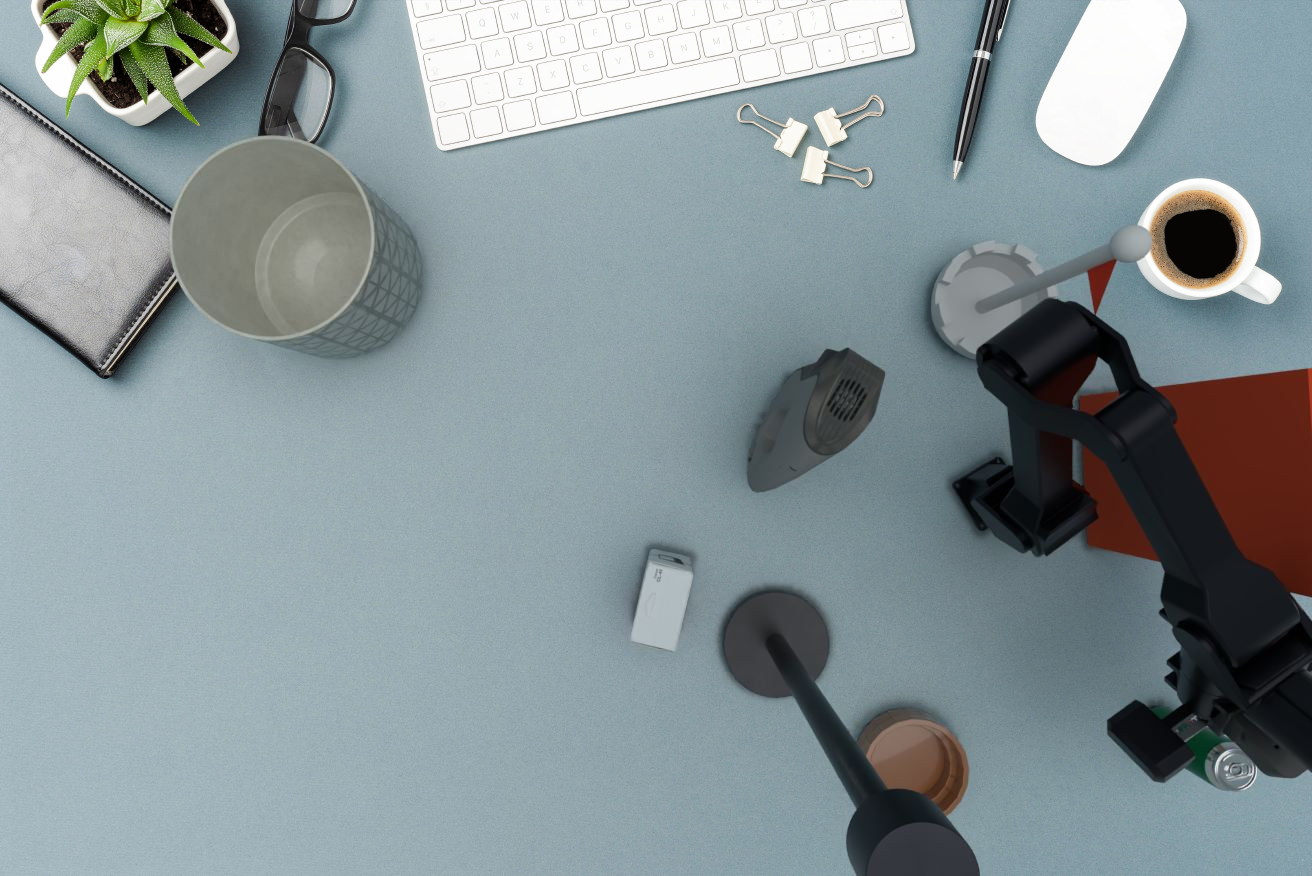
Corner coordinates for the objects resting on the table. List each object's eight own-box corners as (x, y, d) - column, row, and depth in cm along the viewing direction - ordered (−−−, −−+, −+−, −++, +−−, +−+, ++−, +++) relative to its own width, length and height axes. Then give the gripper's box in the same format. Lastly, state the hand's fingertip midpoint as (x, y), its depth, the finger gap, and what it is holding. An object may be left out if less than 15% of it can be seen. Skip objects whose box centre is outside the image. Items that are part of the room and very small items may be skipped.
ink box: (674, 629, 89) (677, 657, 77) (631, 619, 89) (628, 645, 77) (691, 555, 89) (697, 571, 77) (648, 545, 89) (648, 560, 77)
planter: (258, 207, 89) (157, 146, 71) (421, 189, 89) (362, 124, 71) (275, 370, 89) (178, 350, 71) (439, 352, 89) (384, 328, 71)
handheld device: (839, 392, 89) (911, 371, 64) (768, 503, 89) (813, 524, 64) (794, 364, 89) (849, 331, 64) (724, 474, 89) (752, 485, 64)
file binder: (1083, 545, 89) (1324, 600, 57) (1075, 396, 89) (1309, 368, 57) (1153, 541, 89) (1432, 594, 57) (1144, 392, 89) (1417, 362, 57)
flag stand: (929, 245, 89) (1068, 143, 59) (1041, 260, 89) (1236, 167, 59) (914, 356, 89) (1046, 310, 59) (1026, 371, 89) (1214, 334, 59)
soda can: (1134, 706, 89) (1209, 747, 77) (1177, 702, 89) (1259, 742, 77) (1138, 750, 89) (1213, 798, 77) (1181, 746, 89) (1264, 793, 77)
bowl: (834, 739, 89) (843, 754, 85) (921, 687, 89) (934, 699, 85) (886, 826, 89) (897, 845, 84) (972, 774, 89) (988, 791, 85)
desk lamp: (703, 623, 89) (763, 839, 40) (792, 570, 89) (962, 720, 40) (756, 713, 89) (883, 1041, 40) (845, 659, 89) (1082, 921, 40)
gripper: (1220, 815, 60) (1203, 856, 71) (1412, 674, 60) (1366, 737, 71) (1101, 699, 68) (1102, 752, 79) (1272, 575, 68) (1249, 645, 79)
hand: (1204, 724), depth 77 cm, fingers open, 9 cm apart
